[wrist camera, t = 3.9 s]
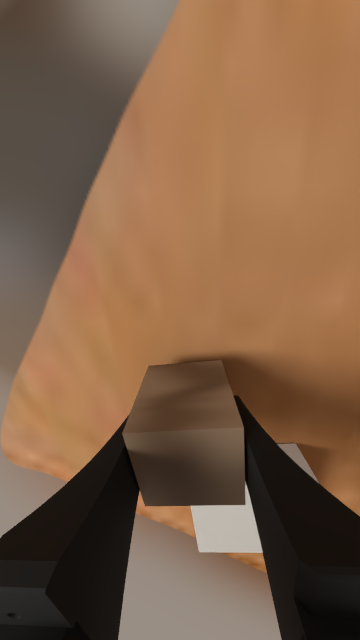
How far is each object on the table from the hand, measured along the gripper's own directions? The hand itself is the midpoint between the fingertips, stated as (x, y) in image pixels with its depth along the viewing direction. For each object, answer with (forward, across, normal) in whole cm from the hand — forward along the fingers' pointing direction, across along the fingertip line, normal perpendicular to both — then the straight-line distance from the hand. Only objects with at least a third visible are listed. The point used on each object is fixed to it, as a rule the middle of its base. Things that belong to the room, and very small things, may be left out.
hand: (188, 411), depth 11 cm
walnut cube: (+2, 0, 0) cm, 2 cm away
